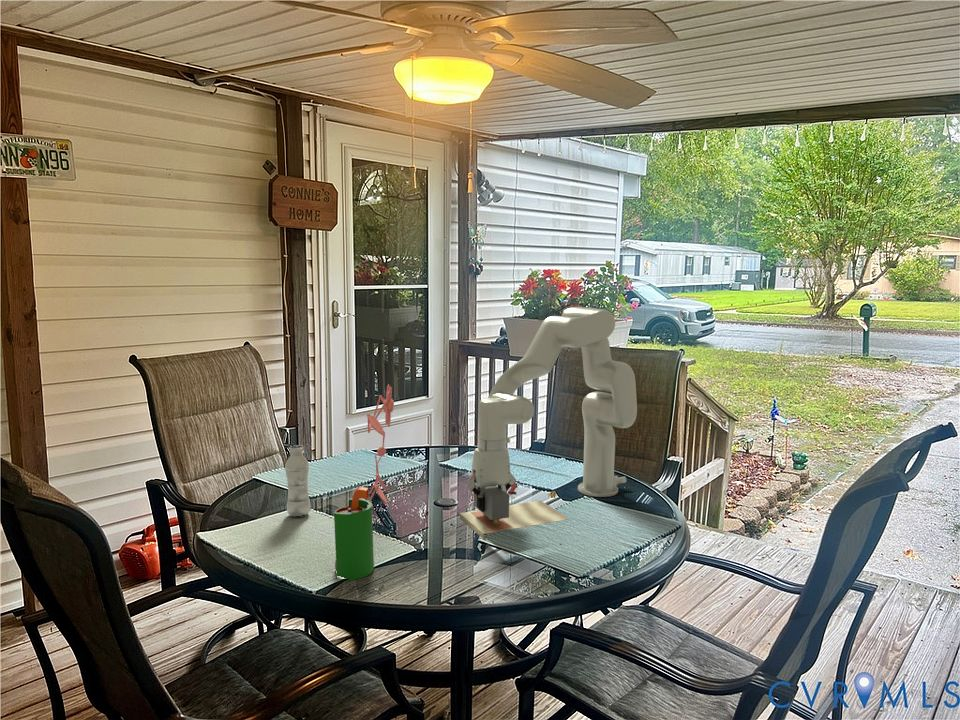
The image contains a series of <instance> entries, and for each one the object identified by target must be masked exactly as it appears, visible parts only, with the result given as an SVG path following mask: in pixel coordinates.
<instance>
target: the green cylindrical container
mask: <svg viewBox="0 0 960 720" xmlns="http://www.w3.org/2000/svg"><path fill="white" fill-rule="evenodd" d="M369 492H370V491H369V487H365V486H364V487H363V486H359V487H357V489H356V490H355V491H354V492H353V495H352V497H351V498H348V506H342V507H339V508H337V509H335V511H334V512H333V520H334V540H335V545H334V546H335V547H334V548H335V561H334V568H335V569H336V571H337V574H336V577H337V576H341V577H344V578H347V579H350V580H349V581H352V580H359V579H362V578H365V577H368V576H369V575H371V574H372V573H374V569H375V559H374V555H375V553H374V536H373V535H374V531H373V506H372V505H373V503H372V502H371V501H369V498H370V496H369V495H370V494H369Z"/></svg>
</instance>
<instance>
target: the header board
mask: <svg viewBox="0 0 960 720" xmlns="http://www.w3.org/2000/svg"><path fill="white" fill-rule="evenodd" d="M459 519H460V520H461V521H462V522H463V523H465V524H466V526H468V527H469V528H470V529H471V530H472V531H473V532H474V533H476V534H477V535H478V536H479V537H480V538H481V539H482V540H488V539H489V537H488V536H486V535H487V534H491V533H492V534H493V533H497V532H498V533H499V532H504V531H509V530H516V529H520V528H527V527H532V526H537V525H543V524H544V525H545V524H549V523H556V522H561V521H567V520H569V517H567V516H565V515H564V514H563V513H561V512H559V511H557V510H556V509H555V508H553V507H552V506H550V505H548V504H547V503H545V502H543V501H542V500H535V501H529V502H522V503H516V504H509V518H503V519H496V520H491V519H490V518H489V517H487V516H486V515H485V514H484V513H482V512H481V511H480V510H479V509H477V510H471V511H465V512H459ZM485 534H486V535H485Z"/></svg>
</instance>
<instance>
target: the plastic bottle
mask: <svg viewBox="0 0 960 720" xmlns="http://www.w3.org/2000/svg"><path fill="white" fill-rule="evenodd" d="M304 453H305V450H304V445H299V444H297V445H291V446H289V457H288V459H286V462H285V464H284V469H285V475H286V481H287V482H286V483H287V501H286V511H287V514H288V516H290V515H291V516H290V517H292V516H301V517H303V516H302V515H305V516H307V515H308V514H309V513H310V512H311V506H312V504H311V499H310V495H309V488H308V487H309V483H308V482H309V481H308V479H309V467H310V463H309V461H308V459H307V458H306V457H305V456H304ZM306 514H307V515H306Z"/></svg>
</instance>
